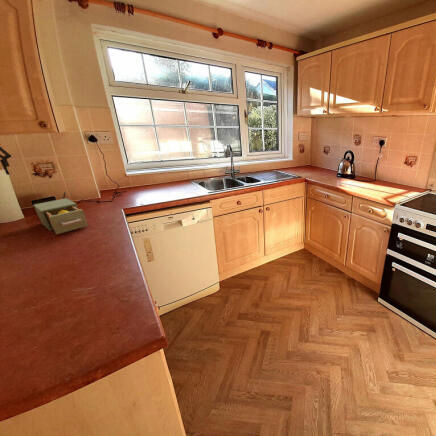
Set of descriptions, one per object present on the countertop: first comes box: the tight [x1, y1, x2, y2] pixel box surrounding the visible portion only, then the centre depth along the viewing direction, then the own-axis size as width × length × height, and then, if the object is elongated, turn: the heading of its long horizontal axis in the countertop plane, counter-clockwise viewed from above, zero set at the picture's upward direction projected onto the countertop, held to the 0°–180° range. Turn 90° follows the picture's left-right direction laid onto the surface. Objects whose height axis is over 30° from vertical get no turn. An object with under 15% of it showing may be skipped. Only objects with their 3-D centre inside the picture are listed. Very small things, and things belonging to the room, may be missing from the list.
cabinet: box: [33, 197, 79, 231], centre depth 129 cm, size 18×14×11 cm
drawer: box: [44, 206, 89, 235], centre depth 121 cm, size 22×12×9 cm, turn 54°
